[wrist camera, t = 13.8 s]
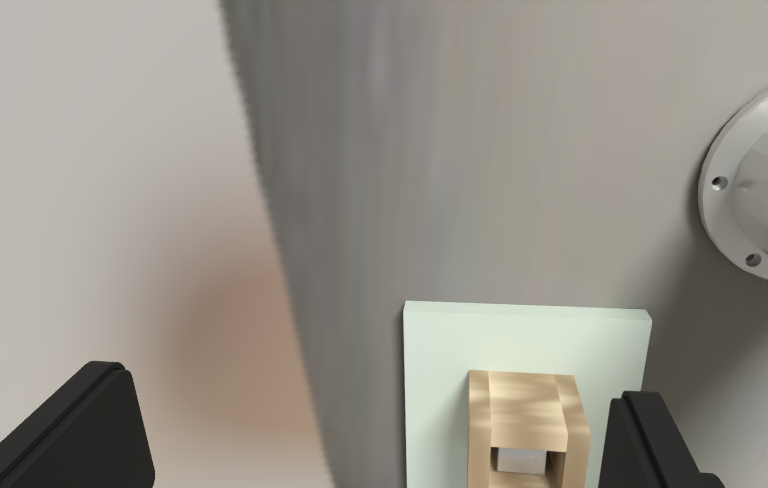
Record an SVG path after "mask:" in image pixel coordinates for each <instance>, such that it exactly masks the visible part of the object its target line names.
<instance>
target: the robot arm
mask: <svg viewBox="0 0 768 488" xmlns="http://www.w3.org/2000/svg"><path fill="white" fill-rule="evenodd" d="M716 177H718V179H717V181H716V182H715V183H712V181H713V180H714V179H715V178H716ZM698 207H699V212H700V217H701V221H702V224H703V226H704V228H705V230H706V232H707V234H708V237H709V238H710V239H711V241H712V242H713V243H714V244H715V246H716V247H717V248H718V250H719V251H720V252H721V253H723V254H724V255H725V256H726V257H727V258H728V259H729V260H730V261H731V262H732V263H734V264H735V265H737V266H738V267H740V268H741V269H743V270H744V271H746V272H748V273H751V274H753V275H756V276H758V277H761V278H763V279H766V280H768V90H766V91H764V92H762V93H761V94H759V95H758V96H757V97H755V98H754V99H753V100H752V101H750V102H749V103H748V104H746V105H745V106H744V107H742V108H741V109H740V110H739V111H738V112H737V113H736V115H735V116H734V117H733V118H732V119H731V120H730V121H729V122H728V123H727V124H726V125H725V126H724V128H723V129H722V131H721V132H720V134H719V135H718V136H717V138H716V139H715V141H714V142H713V144H712V145H711V148H710V150H709V152H708V154H707V157H706V159H705V161H704V163H703V166H702V171H701V175H700V179H699V183H698ZM749 255H750V256H749ZM748 256H749V257H748ZM154 480H155V470H154V466H153V461H152V458H151V453H150V449H149V445H148V441H147V436H146V432H145V428H144V424H143V420H142V416H141V411H140V407H139V403H138V399H137V395H136V391H135V386H134V382H133V378H132V375H131V373H130V372H129V371H128V370H125V367H124V366H123V365H122V364H121V363H119V362H104V361H91V362H89V363H87V364H85V365H84V366H83V367H82V368H81V369H80V370H79V371H78V372H77V373H76V374H75V375H73V376H72V377H71V378H70V379H69V380H68V381H67V382H66V383H65V384H64V385H63V386H61V387H60V388H59V389H58V390H57V391H56V392H55V393H54V394H53V395H52V396H51V397H49V398H48V399H47V400H46V401H45V402H44V403H43V404H42V405H41V406H40V407H39V408H38V409H36V410H35V411H34V412H33V413H32V414H31V415H30V416H29V417H28V418H26V419H25V420H24V421H23V422H22V423H21V424H20V425H19V426H18V427H17V428H16V429H15V430H14V431H12V432H11V433H10V434H9V435H8V436H7V437H6V438H5V439H4V440H2V441H1V442H0V488H152V487H153V484H154ZM598 488H725V487H724V485H723V483H722V482H721V481H720V479H719V478H718V477H717V476H716V475H714V474H712V473H700V472H699V470H698V468H697V466H696V464H695V462H694V460H693V458H692V456H691V454H690V452H689V450H688V448H687V446H686V444H685V442H684V440H683V438H682V436H681V434H680V432H679V430H678V428H677V426H676V424H675V422H674V420H673V418H672V416H671V414H670V413H669V411H668V409H667V407H666V405H665V403H664V401H663V399H662V397H661V395H660V394H659V393H657V392H644V391H626V390H625V391H623V393H622V395H621V398H612V400H611V403H610V408H609V415H608V422H607V429H606V435H605V442H604V449H603V456H602V463H601V470H600V476H599V483H598Z"/></svg>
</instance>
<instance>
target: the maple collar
mask: <svg viewBox="0 0 768 488" xmlns="http://www.w3.org/2000/svg"><path fill="white" fill-rule="evenodd" d="M590 443H591V433H590V430H589V426H588V423H587V420H586V416H585V413H584V409H583V406H582V403H581V399H580V396H579V392H578V389H577V386H576V382H575V379H574V375H560V374H541V373H522V372H503V371H484V370H469V396H468V429H467V488H584V487H585V480H586V472H587V465H588V457H589V450H590ZM496 447H501V448H515V449H529V450H543V451H547V453H546V463H545V473H544V475H542V474H529V473H516V472H503V471H498V470H497V455H496Z"/></svg>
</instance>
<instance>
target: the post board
mask: <svg viewBox="0 0 768 488" xmlns="http://www.w3.org/2000/svg"><path fill="white" fill-rule="evenodd" d="M403 319H404V366H405V413H406V459H407V488H467V429H468V396H469V370H484V371H503V372H522V373H541V374H560V375H574V379H575V382H576V386H577V389H578V392H579V396H580V399H581V403H582V406H583V409H584V413H585V416H586V420H587V423H588V426H589V430H590V433H591V443H590V450H589V457H588V465H587V472H586V480H585V487H584V488H598V483H599V476H600V470H601V463H602V456H603V449H604V442H605V435H606V429H607V422H608V415H609V408H610V403H611V400H612V398H621V395H622V393H623V391H625V390H626V391H641V385H642V380H643V374H644V368H645V362H646V356H647V350H648V344H649V338H650V332H651V326H652V319H651V318H650V316H649V314H648V313H647V311H646V309H620V308H592V307H565V306H537V305H510V304H482V303H455V302H427V301H405V306H404V310H403ZM546 453H547V451H543V450H529V449H515V448H501V447H496V455H497V470H498V471H503V472H516V473H529V474H542V475H544V473H545V463H546Z"/></svg>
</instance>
